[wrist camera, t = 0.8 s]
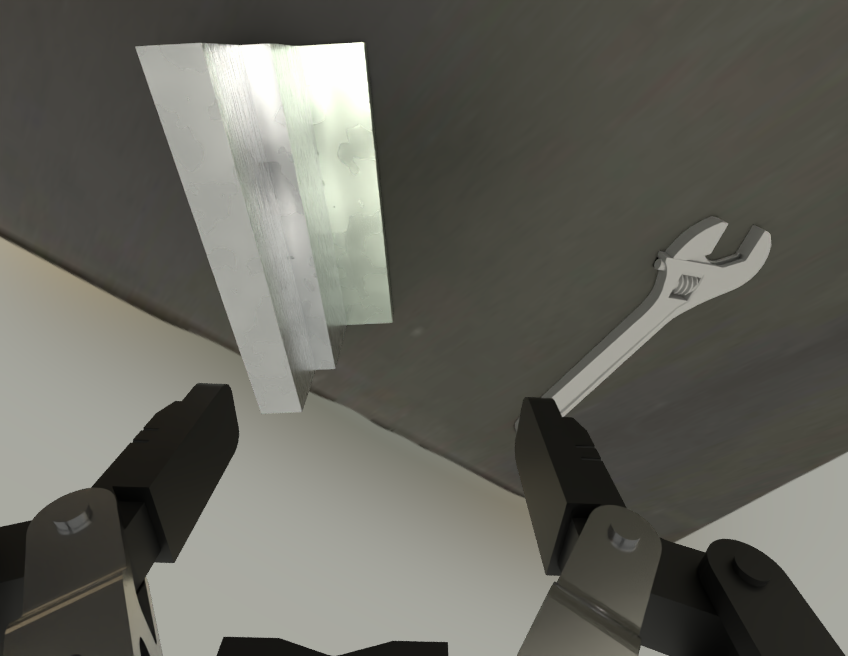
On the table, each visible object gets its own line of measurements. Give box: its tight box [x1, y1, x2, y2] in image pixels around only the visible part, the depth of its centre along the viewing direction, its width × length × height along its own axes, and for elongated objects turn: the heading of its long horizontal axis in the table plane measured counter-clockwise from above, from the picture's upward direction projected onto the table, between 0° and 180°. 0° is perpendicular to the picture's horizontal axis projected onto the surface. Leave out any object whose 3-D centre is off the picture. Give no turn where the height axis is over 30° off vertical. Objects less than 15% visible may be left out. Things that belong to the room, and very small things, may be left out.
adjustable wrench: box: [515, 216, 771, 433], centre depth 35 cm, size 25×6×2 cm, turn 142°
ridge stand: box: [135, 42, 393, 414], centre depth 25 cm, size 18×12×11 cm, turn 3°
